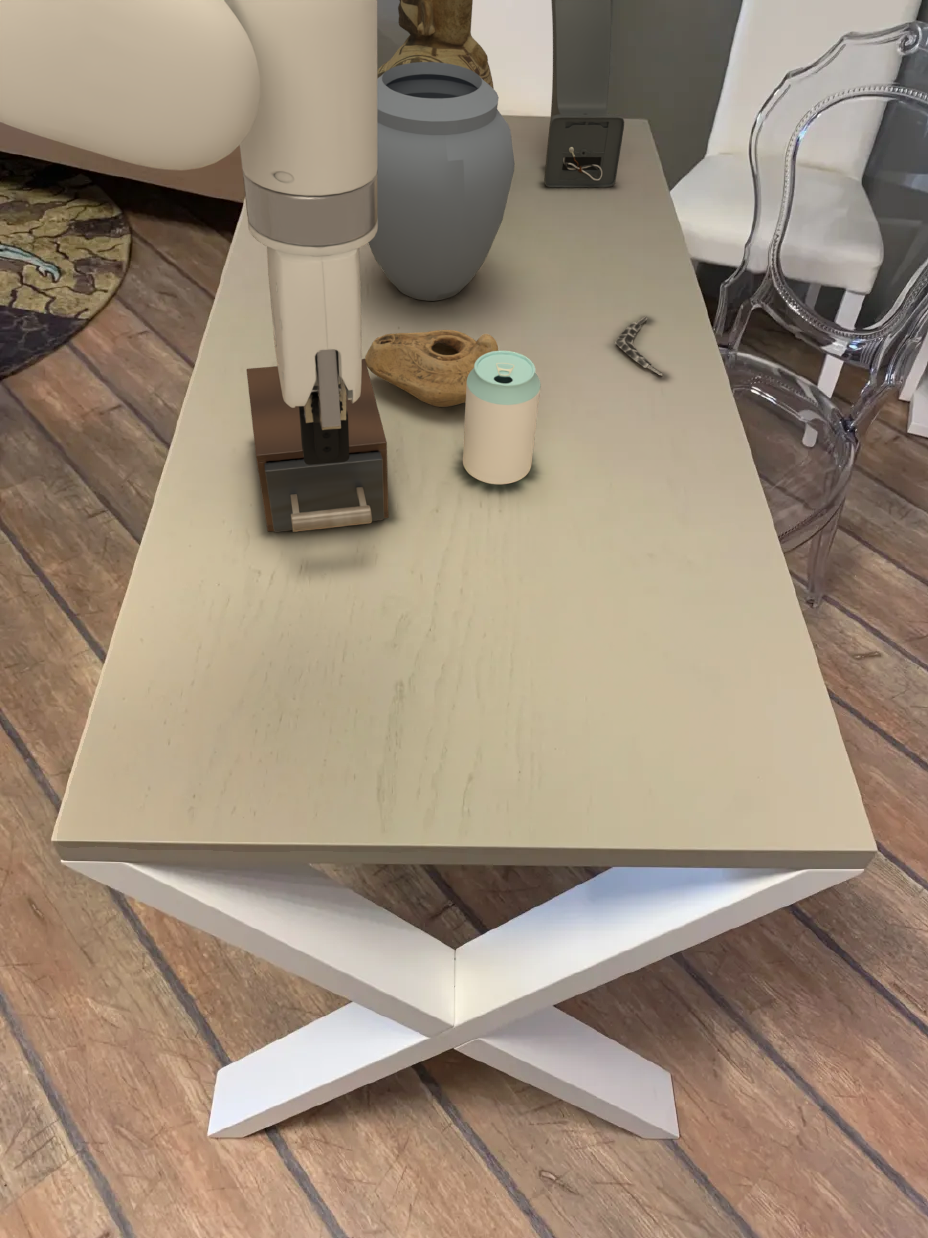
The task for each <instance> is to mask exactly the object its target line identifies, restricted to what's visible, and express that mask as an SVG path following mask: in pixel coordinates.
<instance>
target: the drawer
mask: <svg viewBox="0 0 928 1238" xmlns="http://www.w3.org/2000/svg"><path fill="white" fill-rule="evenodd" d="M264 466H265V474H266V481H267V487H268V494H269V501H270V508H271V514H272V521H273V528H274V531H273V532H274V533H280V532H287V531H288V532H289V531H292V532H293V533H295V532H306V531H313V530H322V529H331V528H339V527H340V528H341V527H347V526H348V527H349V526H358V525H365V524H371V523H372V522H375V521H384V520H385V518H384V497H383V463H382V456H381V452H371V451H364V452H354V453H349V460H348V461H346V462H338V463H326V464H314V465H308V464H306V463H305V462H304V459H301V460H296V458H295V459H285V460H275V461H272V463H265V464H264Z"/></svg>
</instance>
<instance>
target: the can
mask: <svg viewBox="0 0 928 1238" xmlns="http://www.w3.org/2000/svg"><path fill="white" fill-rule="evenodd" d="M541 385H542V384H541V380H540V377H539V376H538V374H537V373H536V366H535V363H534V362H533V361H532V360H531V359H530V358H529V357H527V356H526V355H524V354H522V353H520V352H517V351H511V350H498V351H493V352H489V353H486V354H484V355H482V356H481V357H479V358H478V359H477V360H476V362H475V364H474V368H473V369H472V371H471V372H470V373H469V375H468V377H467V385H466V402H465V407H464V408H465V410H464V429H463V447H462V448H463V449H462V450H463V451H462V464H463V468H464V469H465V471H466V472H467V474H469V475H470V476H471V477H473V478H474V479H475V480H478V481H480V482H482V483H486V484H490V485H508V484H513V483H516V482H518V481H520V480H522V479H524V478H525V477H526V476H527V475H528V474H529V473H530V471H531V468H532V464H533V454H534V445H535V439H536V438H535V436H536V427H537V419H538V412H539V403H540V396H541V395H540V394H541V387H542V386H541Z"/></svg>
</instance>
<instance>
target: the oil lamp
mask: <svg viewBox="0 0 928 1238" xmlns="http://www.w3.org/2000/svg"><path fill="white" fill-rule="evenodd" d="M493 351H499V346H498V343H497V340H496V338H494V337H493V336H492V335H490V334H489V333H483V334H481V336H480V337H479V338H478V339H477V340H476V339H474V338H472V337H471V336H469V335H468V334H467V333H464V332H461V331H458V330H453V329H437V330H429V331H423V332H420V331H419V332H398V333H386V334H383V335H380V336H378V337H376V338H375V339H374V340H373V342H372V343H371V345H370V347H369V348H368V351H367V352H366V354H365V358H364V359H365V361H366V365H367V369H368V371H370V372H371V373H372V374H374V375H375V376H377V377H378V378H380V379H382V380H384V381H386V382H387V383H389V384H391V385H393V386H396V387H398V388H399V389H401V390H403V391H404V392H407V393H409V394H410V395H412V396H413V397H415V398H416V399H418V400H419V401H421V402H423V403H425V404H428V405H430V406H434V407H439V408H448V407H453V406H454V407H455V406H458V405H460V404H464V403H466V385H467V377H468V375H469V373H470V372H471V371H472V369H473V368H474V364H475V362H476V360H477V359H478V358H479V357H481V356H482V355H484V354H486V353H489V352H493Z"/></svg>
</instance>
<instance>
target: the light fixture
mask: <svg viewBox="0 0 928 1238" xmlns="http://www.w3.org/2000/svg"><path fill="white" fill-rule="evenodd" d="M551 18H552V19H551V20H552V21H551V22H552V79H551V80H552V83H551V84H552V85H551V86H552V87H551V105H550V107H551V108H550V119H549V125H548V126H549V128H548V136H547V146H546V154H545V155H546V156H545V164H544V165H545V167H544V174H543V175H544V177H543V181H544V184H545V186H546V187H548V188H611V187H613V186H614V185H615V184H616V179H617V174H618V169H619V163H620V156H621V149H622V143H623V136H624V131H625V130H624V129H625V119H624V118H623V116H622V115H620V114H610V112H609V109H608V102H609V87H610V75H611V73H610V72H611V44H612V43H611V42H612V41H611V40H612V0H551Z"/></svg>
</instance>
